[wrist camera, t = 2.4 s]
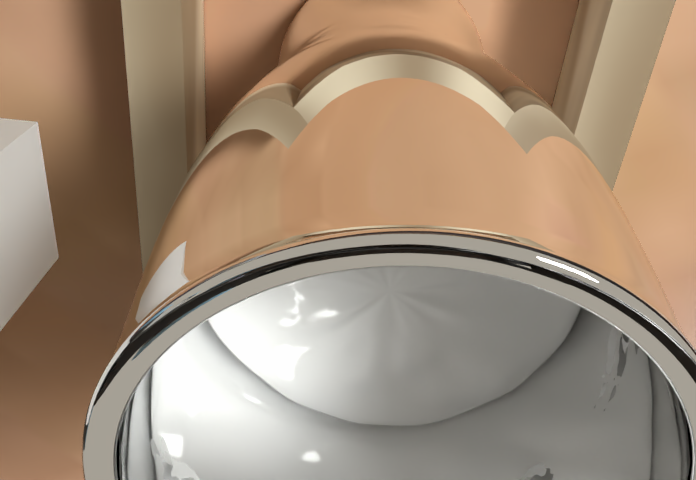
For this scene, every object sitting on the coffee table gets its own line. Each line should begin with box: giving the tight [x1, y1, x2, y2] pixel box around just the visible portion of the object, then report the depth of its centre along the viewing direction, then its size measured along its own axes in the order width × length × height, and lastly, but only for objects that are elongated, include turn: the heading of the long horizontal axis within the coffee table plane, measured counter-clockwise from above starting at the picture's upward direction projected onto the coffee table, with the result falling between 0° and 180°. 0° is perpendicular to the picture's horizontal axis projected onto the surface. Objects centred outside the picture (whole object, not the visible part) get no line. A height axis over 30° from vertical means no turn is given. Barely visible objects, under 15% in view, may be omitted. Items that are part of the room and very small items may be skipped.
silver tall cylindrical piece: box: [82, 0, 696, 480], centre depth 13 cm, size 7×7×15 cm
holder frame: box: [121, 0, 676, 273], centre depth 19 cm, size 14×14×2 cm
